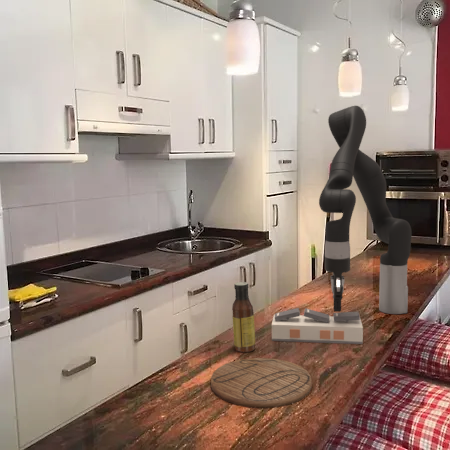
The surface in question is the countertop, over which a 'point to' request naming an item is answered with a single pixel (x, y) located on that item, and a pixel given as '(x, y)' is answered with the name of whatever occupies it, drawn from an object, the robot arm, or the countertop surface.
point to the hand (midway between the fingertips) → (337, 310)
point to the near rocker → (346, 316)
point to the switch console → (317, 330)
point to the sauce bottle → (243, 319)
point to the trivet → (261, 382)
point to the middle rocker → (316, 315)
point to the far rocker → (287, 314)
